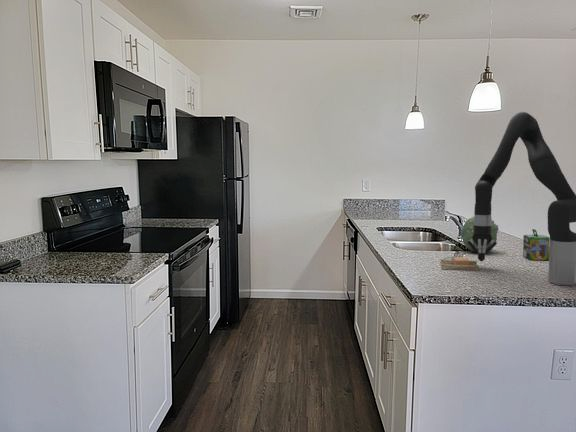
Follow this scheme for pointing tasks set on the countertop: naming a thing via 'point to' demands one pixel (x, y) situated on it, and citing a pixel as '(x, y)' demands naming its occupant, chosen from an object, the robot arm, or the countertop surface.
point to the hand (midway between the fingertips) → (481, 260)
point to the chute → (450, 265)
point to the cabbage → (468, 233)
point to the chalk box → (536, 247)
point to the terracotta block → (461, 261)
